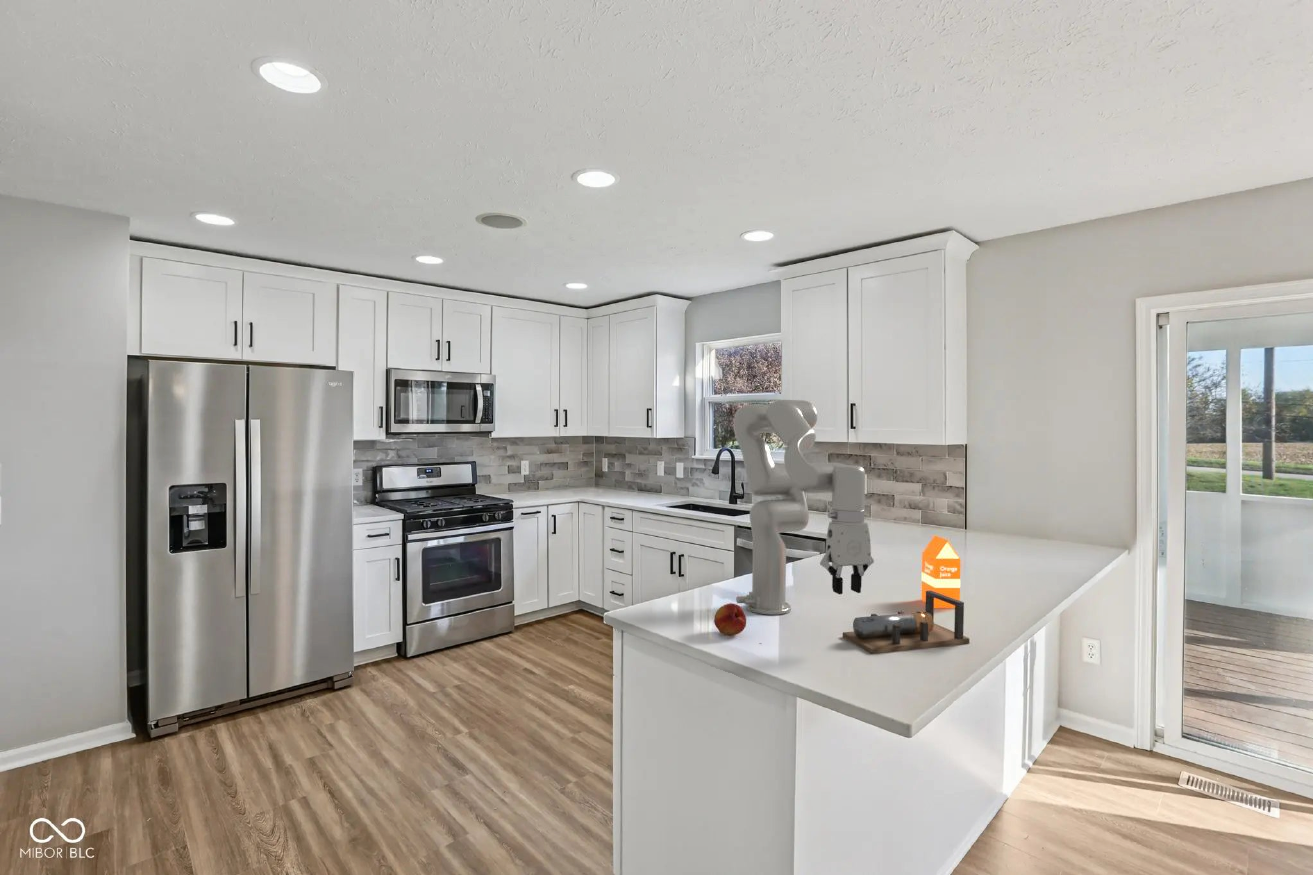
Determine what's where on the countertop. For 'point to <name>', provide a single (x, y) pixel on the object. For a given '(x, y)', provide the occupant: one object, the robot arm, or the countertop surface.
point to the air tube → (891, 624)
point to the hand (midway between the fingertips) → (846, 591)
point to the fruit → (730, 619)
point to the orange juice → (941, 571)
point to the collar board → (917, 640)
